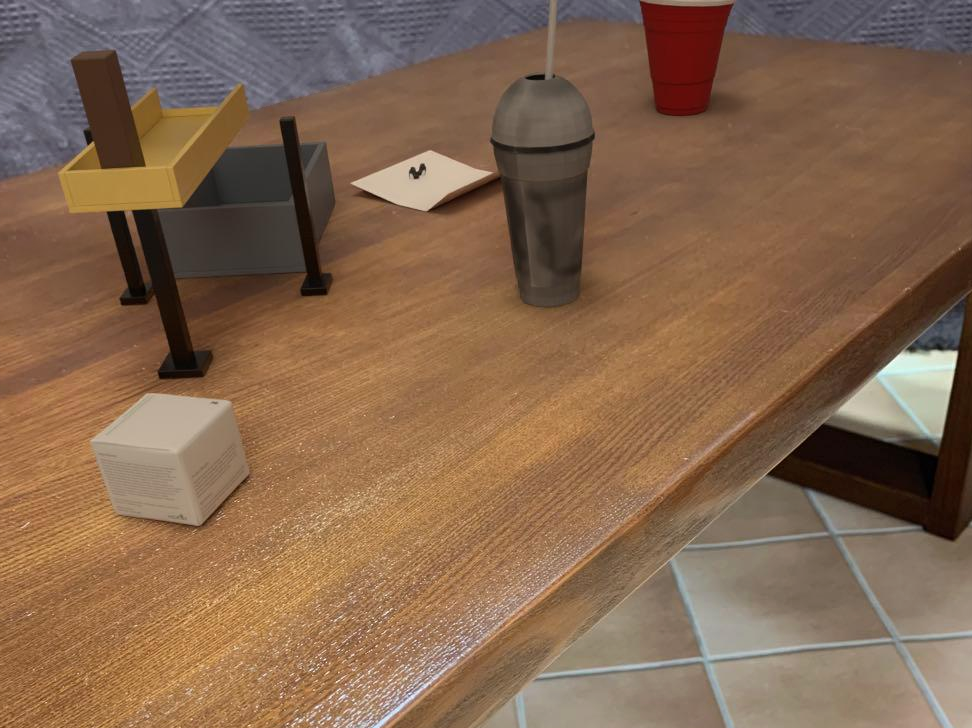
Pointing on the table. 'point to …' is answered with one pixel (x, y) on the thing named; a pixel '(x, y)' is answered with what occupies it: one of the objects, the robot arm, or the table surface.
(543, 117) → the beverage cup
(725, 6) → the plastic cup
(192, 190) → the trough
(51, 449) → the table surface
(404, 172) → the folded paper
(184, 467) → the small box
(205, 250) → the bin
